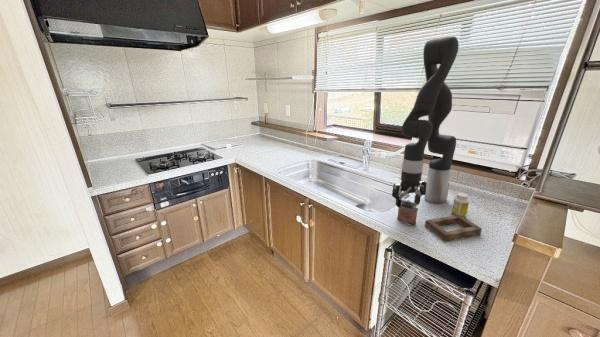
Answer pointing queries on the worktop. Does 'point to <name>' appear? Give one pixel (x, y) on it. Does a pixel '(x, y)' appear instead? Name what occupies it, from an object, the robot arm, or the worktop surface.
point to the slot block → (446, 236)
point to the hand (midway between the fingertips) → (407, 205)
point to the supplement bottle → (460, 204)
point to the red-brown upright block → (407, 212)
